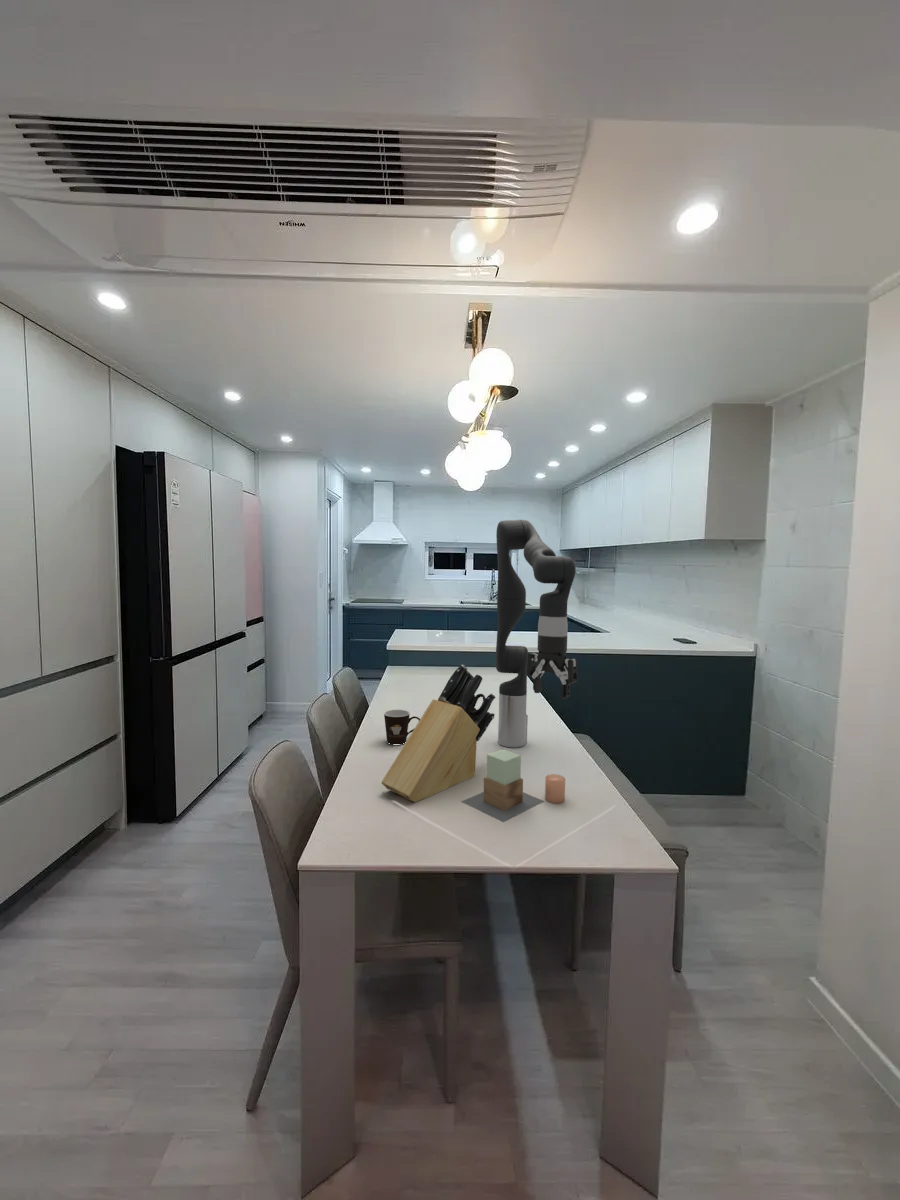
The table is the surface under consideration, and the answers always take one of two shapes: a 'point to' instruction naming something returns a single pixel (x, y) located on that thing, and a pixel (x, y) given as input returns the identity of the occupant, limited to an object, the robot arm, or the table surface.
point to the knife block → (442, 741)
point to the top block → (503, 766)
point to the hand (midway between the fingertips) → (550, 695)
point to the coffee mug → (397, 725)
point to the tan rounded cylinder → (555, 788)
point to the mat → (499, 813)
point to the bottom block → (503, 793)
